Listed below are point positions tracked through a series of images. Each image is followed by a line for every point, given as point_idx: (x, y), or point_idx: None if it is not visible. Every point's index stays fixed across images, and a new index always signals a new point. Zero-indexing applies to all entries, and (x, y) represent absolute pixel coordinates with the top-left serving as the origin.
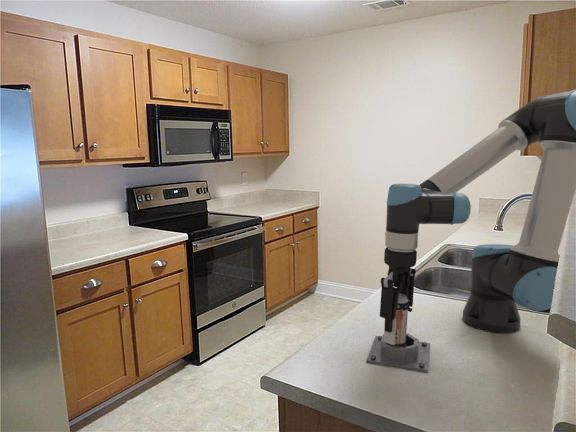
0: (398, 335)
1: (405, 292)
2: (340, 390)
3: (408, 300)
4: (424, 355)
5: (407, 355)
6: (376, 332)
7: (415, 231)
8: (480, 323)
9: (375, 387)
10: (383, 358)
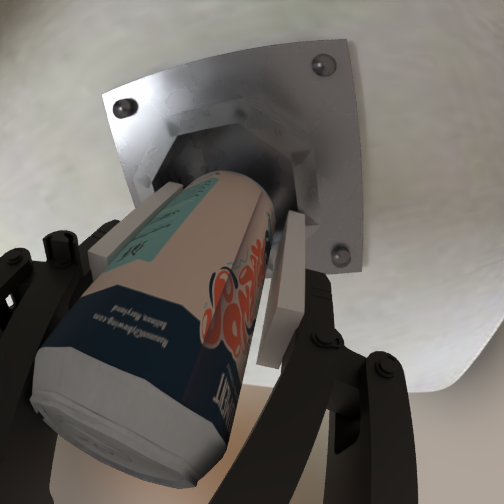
0: (262, 217)
1: (16, 423)
2: (501, 282)
3: (22, 314)
4: (215, 75)
5: (302, 134)
6: None
7: None
8: None
9: (489, 209)
10: (327, 222)
